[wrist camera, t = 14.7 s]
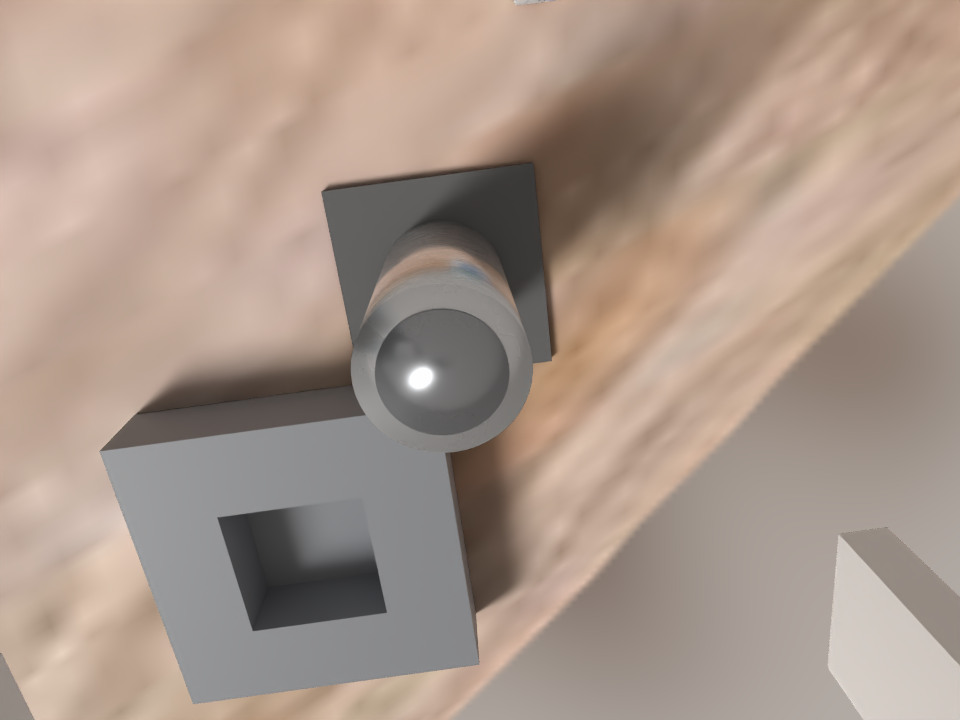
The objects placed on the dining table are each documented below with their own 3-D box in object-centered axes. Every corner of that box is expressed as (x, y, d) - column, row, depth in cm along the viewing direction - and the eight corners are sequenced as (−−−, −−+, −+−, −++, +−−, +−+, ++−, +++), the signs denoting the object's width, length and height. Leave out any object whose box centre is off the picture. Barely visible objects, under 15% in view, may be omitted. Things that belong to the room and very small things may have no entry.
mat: (322, 190, 32) (321, 191, 32) (532, 162, 32) (533, 163, 32) (362, 383, 36) (361, 386, 36) (550, 358, 36) (551, 360, 36)
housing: (135, 414, 36) (99, 451, 32) (437, 373, 36) (437, 405, 32) (215, 649, 42) (193, 704, 38) (475, 613, 42) (479, 664, 38)
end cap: (371, 229, 33) (332, 299, 21) (496, 212, 33) (524, 273, 21) (393, 346, 35) (368, 467, 23) (509, 330, 35) (541, 443, 23)
